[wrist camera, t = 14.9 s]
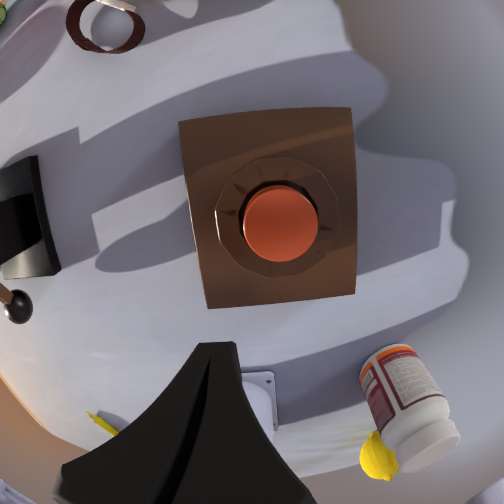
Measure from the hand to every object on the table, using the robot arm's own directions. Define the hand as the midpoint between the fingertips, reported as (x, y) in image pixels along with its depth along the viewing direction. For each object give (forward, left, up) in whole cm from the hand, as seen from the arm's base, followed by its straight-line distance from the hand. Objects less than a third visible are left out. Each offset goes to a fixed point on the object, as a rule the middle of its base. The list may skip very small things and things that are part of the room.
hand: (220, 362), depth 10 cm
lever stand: (+5, +19, -10) cm, 22 cm away
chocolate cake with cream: (+19, +7, -11) cm, 23 cm away
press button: (+3, -3, -7) cm, 8 cm away
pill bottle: (-13, -13, -11) cm, 21 cm away
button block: (+3, -3, -10) cm, 11 cm away
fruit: (-26, -14, -11) cm, 31 cm away
